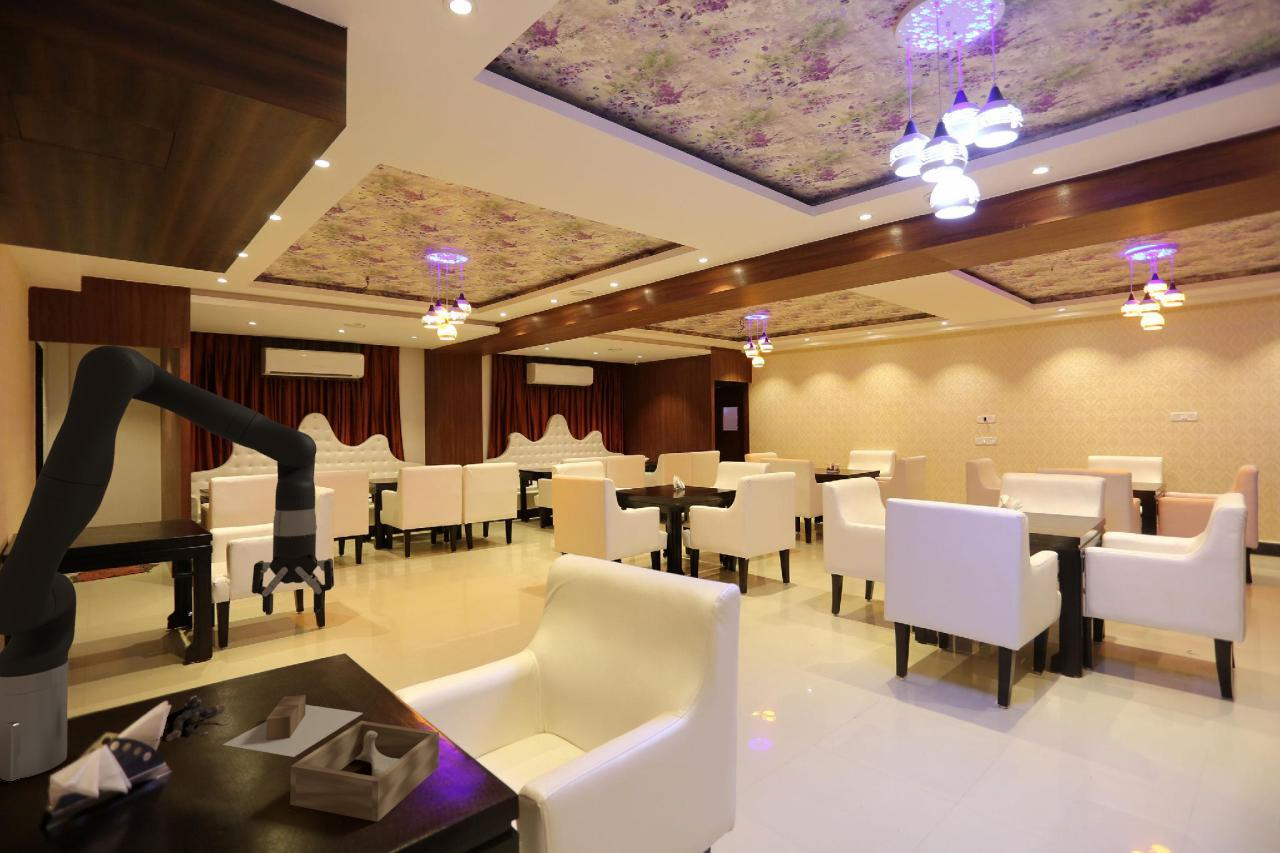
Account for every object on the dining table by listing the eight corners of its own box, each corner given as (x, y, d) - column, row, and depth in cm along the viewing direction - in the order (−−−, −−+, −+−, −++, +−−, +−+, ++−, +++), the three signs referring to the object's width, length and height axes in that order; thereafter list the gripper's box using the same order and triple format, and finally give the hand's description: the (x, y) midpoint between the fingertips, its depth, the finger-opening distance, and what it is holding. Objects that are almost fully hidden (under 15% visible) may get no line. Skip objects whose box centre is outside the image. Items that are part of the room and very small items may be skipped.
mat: (293, 760, 111) (293, 756, 111) (222, 747, 116) (222, 744, 116) (363, 715, 129) (363, 713, 129) (299, 706, 133) (299, 703, 133)
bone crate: (377, 821, 94) (378, 781, 94) (290, 804, 98) (290, 766, 98) (438, 766, 109) (439, 732, 109) (360, 754, 114) (361, 720, 114)
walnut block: (283, 716, 127) (266, 740, 117) (283, 696, 127) (266, 718, 117) (305, 714, 128) (289, 738, 118) (305, 694, 128) (289, 716, 118)
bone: (379, 770, 99) (374, 720, 107) (351, 800, 99) (348, 748, 107) (430, 785, 105) (422, 736, 113) (403, 813, 105) (396, 763, 113)
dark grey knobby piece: (184, 743, 116) (154, 696, 120) (167, 779, 118) (137, 732, 122) (248, 716, 126) (217, 674, 131) (230, 750, 129) (201, 707, 133)
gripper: (248, 535, 120) (246, 620, 120) (329, 533, 124) (328, 616, 123) (261, 529, 127) (259, 609, 127) (337, 527, 131) (336, 605, 131)
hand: (293, 612), depth 125 cm, fingers open, 8 cm apart
